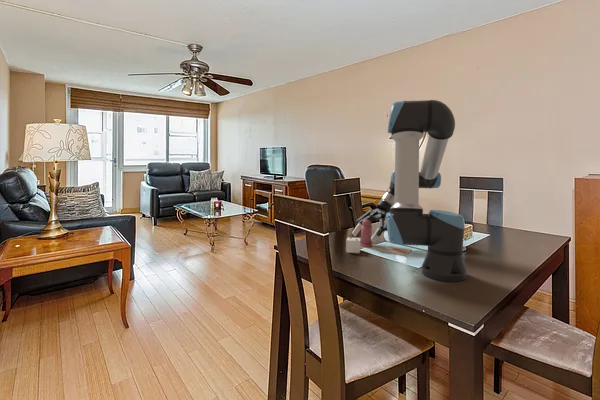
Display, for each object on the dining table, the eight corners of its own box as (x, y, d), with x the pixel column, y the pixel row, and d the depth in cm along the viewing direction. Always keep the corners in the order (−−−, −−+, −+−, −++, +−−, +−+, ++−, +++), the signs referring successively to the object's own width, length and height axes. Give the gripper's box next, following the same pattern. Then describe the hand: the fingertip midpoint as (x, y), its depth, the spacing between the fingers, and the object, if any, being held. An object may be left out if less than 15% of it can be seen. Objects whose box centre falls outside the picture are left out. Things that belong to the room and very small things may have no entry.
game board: (405, 255, 143) (405, 254, 143) (353, 247, 157) (353, 246, 157) (411, 250, 151) (411, 250, 150) (361, 243, 165) (361, 242, 165)
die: (359, 254, 146) (359, 240, 145) (346, 253, 147) (346, 239, 146) (360, 250, 151) (360, 237, 151) (347, 249, 153) (347, 236, 152)
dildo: (369, 247, 154) (370, 221, 153) (357, 245, 158) (358, 219, 156) (374, 245, 159) (375, 219, 158) (362, 243, 163) (363, 217, 161)
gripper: (409, 212, 153) (385, 248, 148) (373, 206, 175) (350, 236, 169) (402, 202, 150) (377, 238, 144) (365, 196, 171) (342, 228, 166)
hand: (362, 237), depth 157 cm, fingers open, 13 cm apart
